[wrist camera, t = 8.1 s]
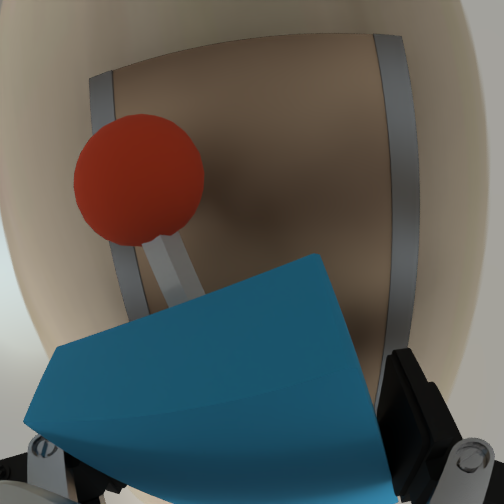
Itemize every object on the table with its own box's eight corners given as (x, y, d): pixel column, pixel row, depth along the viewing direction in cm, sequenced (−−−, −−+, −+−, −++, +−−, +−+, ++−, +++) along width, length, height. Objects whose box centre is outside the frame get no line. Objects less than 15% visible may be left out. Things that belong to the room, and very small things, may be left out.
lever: (372, 397, 16) (233, 58, 7) (398, 502, 10) (185, -7, 1) (265, 427, 17) (54, 170, 9) (269, 528, 11) (-94, 299, 3)
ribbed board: (103, 82, 12) (89, 78, 11) (391, 45, 10) (401, 36, 9) (192, 456, 19) (187, 469, 18) (373, 452, 17) (376, 466, 16)
